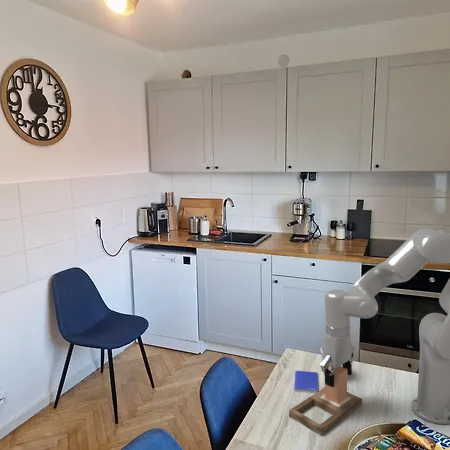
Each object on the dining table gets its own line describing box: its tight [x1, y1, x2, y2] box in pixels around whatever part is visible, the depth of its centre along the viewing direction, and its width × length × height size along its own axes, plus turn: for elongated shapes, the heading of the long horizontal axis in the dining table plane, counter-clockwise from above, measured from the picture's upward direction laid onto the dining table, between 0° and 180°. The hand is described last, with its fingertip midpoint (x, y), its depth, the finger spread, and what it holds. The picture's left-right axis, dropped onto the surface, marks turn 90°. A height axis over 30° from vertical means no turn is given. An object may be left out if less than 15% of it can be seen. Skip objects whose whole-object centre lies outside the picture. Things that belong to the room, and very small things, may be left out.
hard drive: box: [293, 370, 319, 394], centre depth 142 cm, size 2×8×12 cm
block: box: [324, 365, 348, 404], centre depth 128 cm, size 5×5×10 cm
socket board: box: [288, 387, 363, 436], centre depth 126 cm, size 12×22×2 cm, turn 131°
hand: (338, 379), depth 127 cm, fingers open, 9 cm apart
